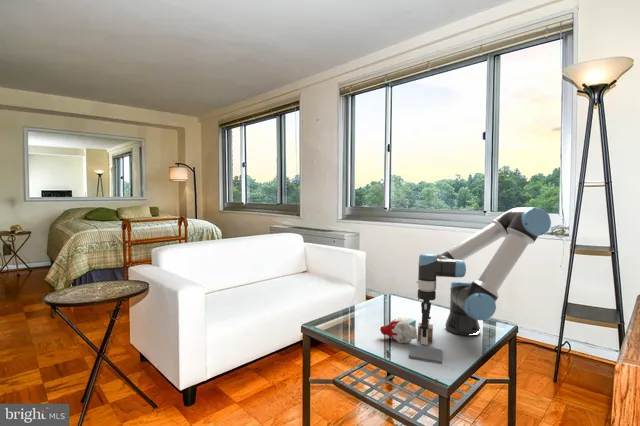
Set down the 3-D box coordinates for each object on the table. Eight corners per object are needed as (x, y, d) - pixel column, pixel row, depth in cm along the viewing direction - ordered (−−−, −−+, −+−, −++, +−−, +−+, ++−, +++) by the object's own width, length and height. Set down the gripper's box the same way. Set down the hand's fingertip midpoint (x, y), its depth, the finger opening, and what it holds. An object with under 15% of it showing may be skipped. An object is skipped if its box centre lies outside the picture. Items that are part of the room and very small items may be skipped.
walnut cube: (432, 338, 152) (433, 324, 152) (432, 342, 147) (432, 328, 147) (418, 336, 154) (418, 322, 154) (417, 340, 149) (417, 326, 149)
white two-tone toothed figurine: (418, 345, 142) (381, 346, 144) (415, 335, 153) (380, 336, 155) (416, 323, 142) (379, 325, 144) (413, 315, 153) (379, 316, 155)
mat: (442, 351, 138) (442, 349, 138) (442, 363, 127) (442, 361, 127) (411, 346, 142) (411, 344, 142) (408, 357, 131) (408, 355, 131)
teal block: (415, 328, 164) (415, 320, 164) (409, 331, 160) (409, 323, 160) (407, 326, 167) (408, 318, 167) (401, 329, 163) (401, 320, 163)
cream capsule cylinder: (409, 331, 160) (409, 318, 160) (408, 334, 155) (408, 321, 155) (398, 329, 162) (398, 316, 162) (396, 333, 157) (397, 319, 157)
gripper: (419, 283, 163) (417, 328, 163) (415, 294, 140) (413, 347, 140) (436, 285, 161) (434, 330, 161) (435, 297, 138) (433, 350, 138)
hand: (424, 338), depth 151 cm, fingers open, 12 cm apart
